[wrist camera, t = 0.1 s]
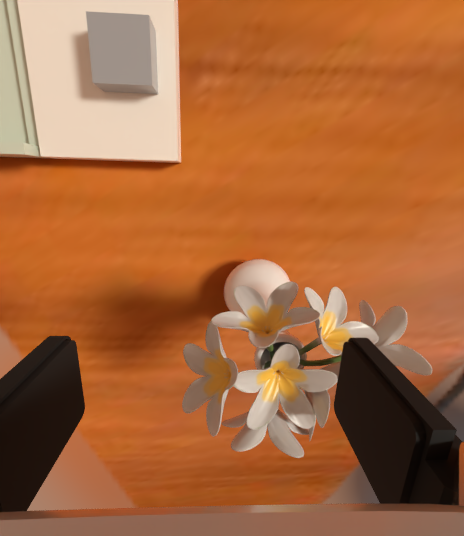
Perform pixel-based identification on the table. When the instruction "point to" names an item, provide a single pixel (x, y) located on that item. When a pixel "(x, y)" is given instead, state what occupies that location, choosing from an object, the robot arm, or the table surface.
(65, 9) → the plate
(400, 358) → the flower vase
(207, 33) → the table surface
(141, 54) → the grey square block
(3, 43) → the box
